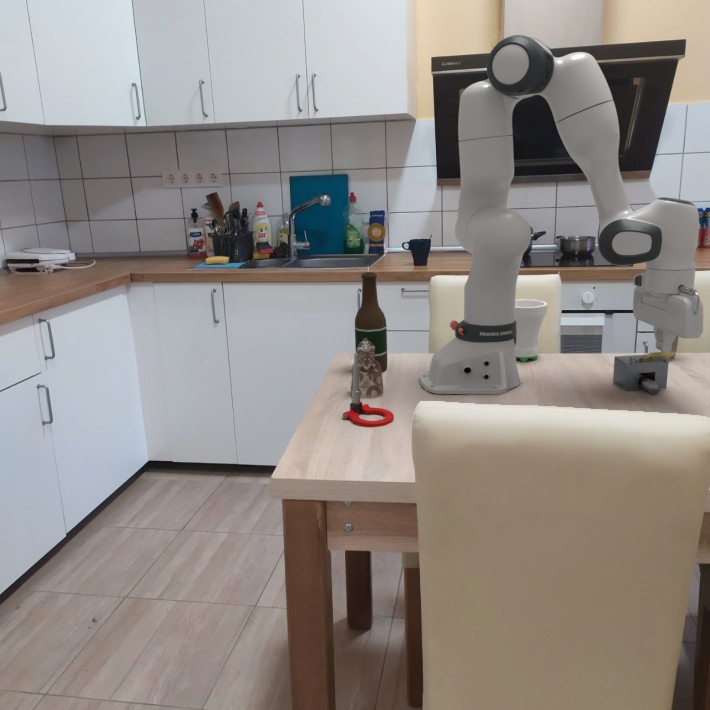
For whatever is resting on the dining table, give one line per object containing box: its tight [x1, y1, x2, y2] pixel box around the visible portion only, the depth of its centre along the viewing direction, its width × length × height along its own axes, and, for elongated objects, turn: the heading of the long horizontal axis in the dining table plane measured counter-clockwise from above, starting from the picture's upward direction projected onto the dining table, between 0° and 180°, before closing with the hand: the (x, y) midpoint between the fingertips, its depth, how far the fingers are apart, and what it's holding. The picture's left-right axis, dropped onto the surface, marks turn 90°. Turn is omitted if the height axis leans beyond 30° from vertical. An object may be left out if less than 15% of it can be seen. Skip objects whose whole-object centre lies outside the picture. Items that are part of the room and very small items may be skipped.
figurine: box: [350, 338, 384, 400], centre depth 146 cm, size 7×7×12 cm
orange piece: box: [638, 373, 662, 395], centre depth 145 cm, size 5×12×3 cm, turn 5°
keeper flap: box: [636, 351, 676, 363], centre depth 139 cm, size 6×6×1 cm
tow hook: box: [342, 352, 395, 428], centre depth 131 cm, size 8×13×9 cm
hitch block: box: [612, 354, 671, 392], centre depth 145 cm, size 9×7×7 cm
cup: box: [515, 298, 548, 362], centre depth 169 cm, size 11×11×14 cm
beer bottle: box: [354, 271, 388, 373], centre depth 162 cm, size 8×8×24 cm
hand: (663, 350), depth 136 cm, fingers closed
